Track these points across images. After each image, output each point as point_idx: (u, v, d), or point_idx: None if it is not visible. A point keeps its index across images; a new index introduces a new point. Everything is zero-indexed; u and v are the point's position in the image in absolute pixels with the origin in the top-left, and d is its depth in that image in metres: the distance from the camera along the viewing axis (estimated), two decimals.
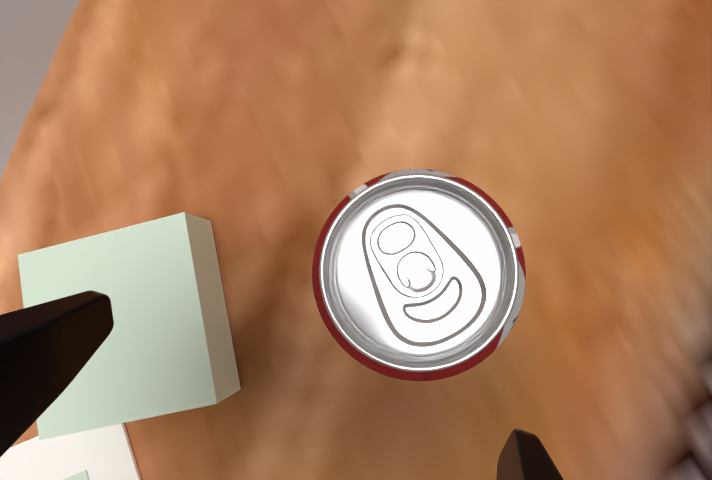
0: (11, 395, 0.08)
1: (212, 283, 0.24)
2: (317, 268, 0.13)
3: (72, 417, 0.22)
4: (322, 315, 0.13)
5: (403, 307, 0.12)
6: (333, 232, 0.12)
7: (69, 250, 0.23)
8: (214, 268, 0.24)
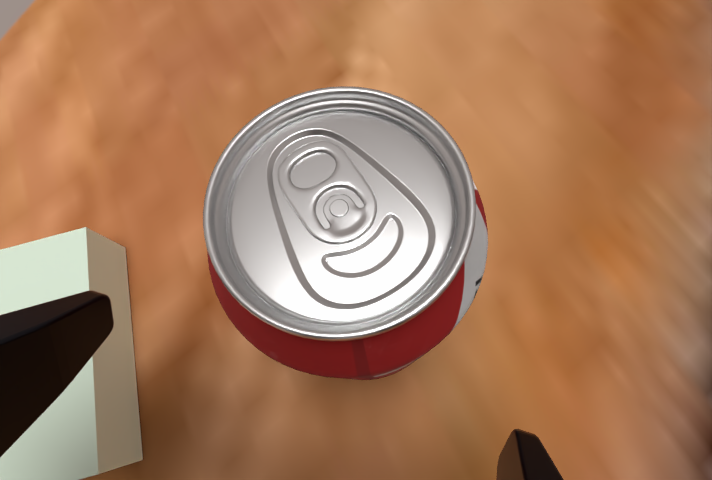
0: (11, 395, 0.08)
1: (116, 317, 0.19)
2: None
3: None
4: (216, 290, 0.10)
5: (323, 259, 0.09)
6: (227, 161, 0.09)
7: None
8: (122, 301, 0.20)
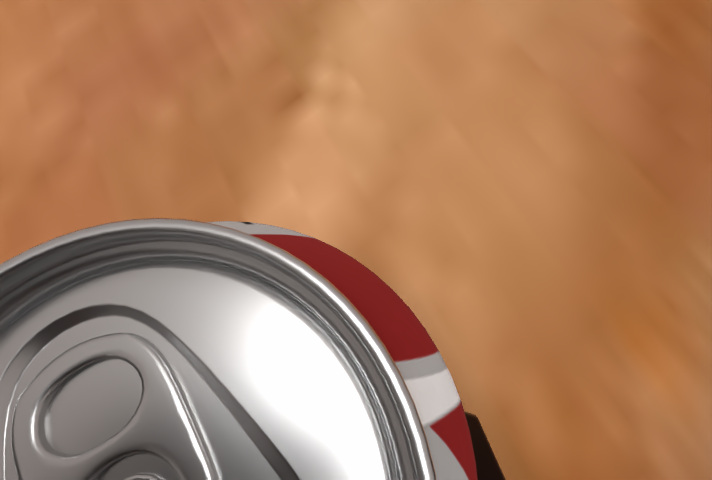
0: None
1: None
2: None
3: None
4: None
5: None
6: None
7: None
8: None
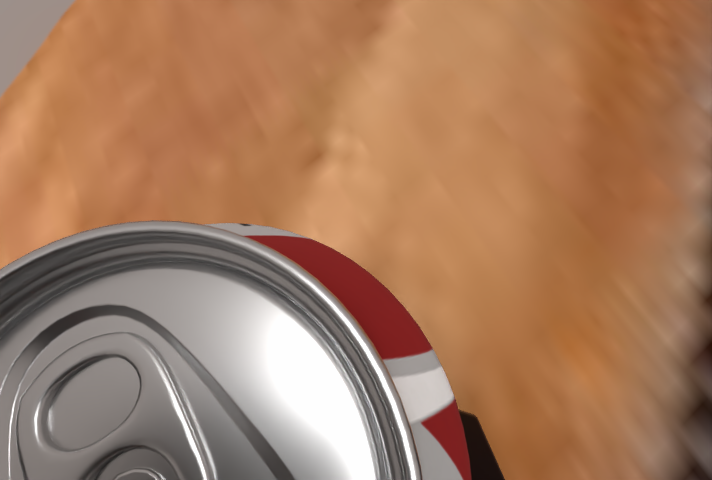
0: None
1: None
2: None
3: None
4: None
5: None
6: None
7: None
8: None
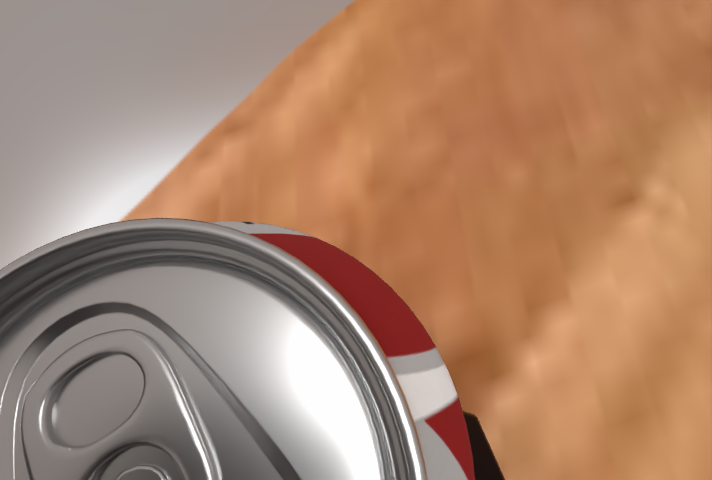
0: None
1: None
2: None
3: None
4: None
5: None
6: None
7: None
8: None
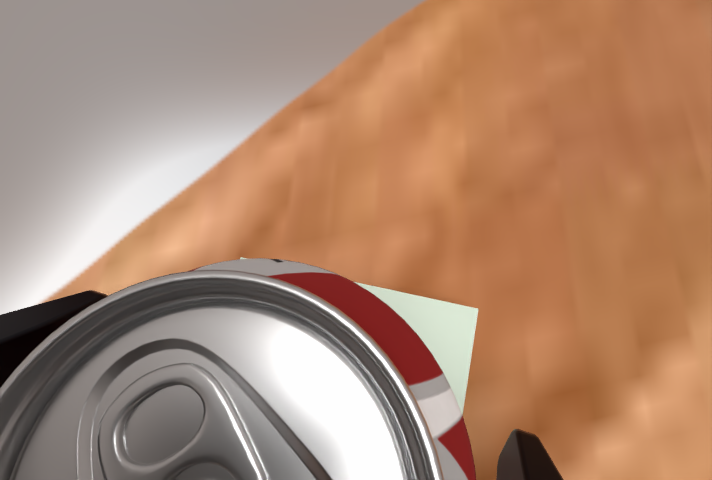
0: None
1: None
2: None
3: None
4: None
5: None
6: None
7: None
8: None
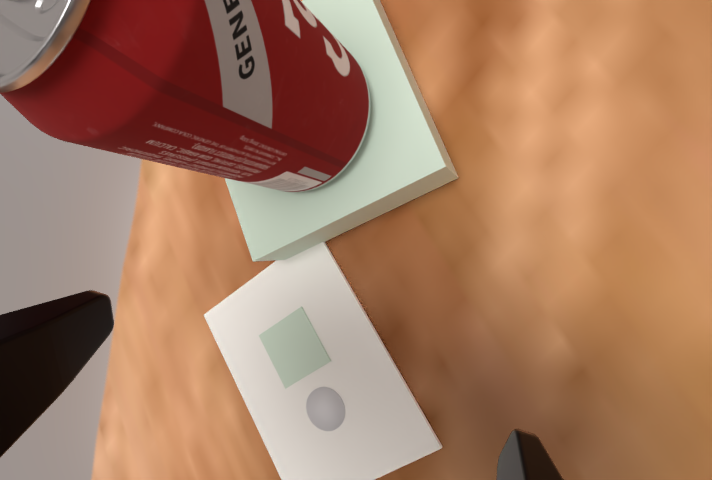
0: (12, 395, 0.08)
1: (401, 54, 0.19)
2: None
3: (281, 229, 0.20)
4: (35, 126, 0.10)
5: (37, 9, 0.08)
6: None
7: None
8: (397, 43, 0.20)
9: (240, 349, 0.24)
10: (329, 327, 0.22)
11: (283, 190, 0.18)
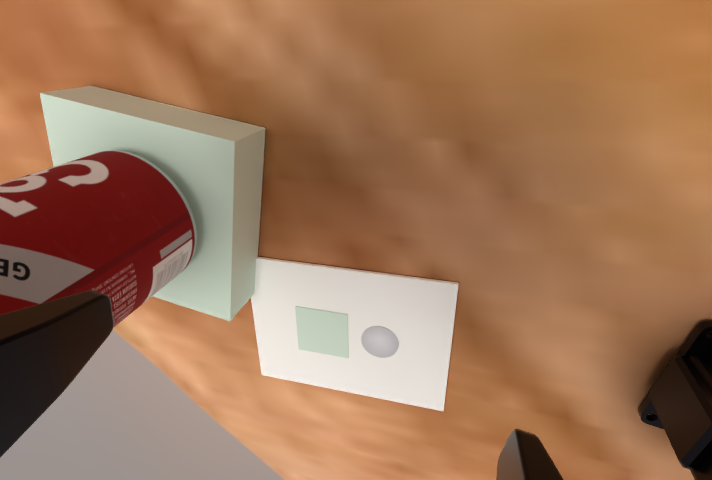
0: (12, 395, 0.08)
1: (139, 104, 0.21)
2: None
3: (217, 286, 0.22)
4: None
5: None
6: None
7: None
8: (131, 99, 0.21)
9: (301, 367, 0.27)
10: (322, 298, 0.24)
11: (182, 269, 0.20)
